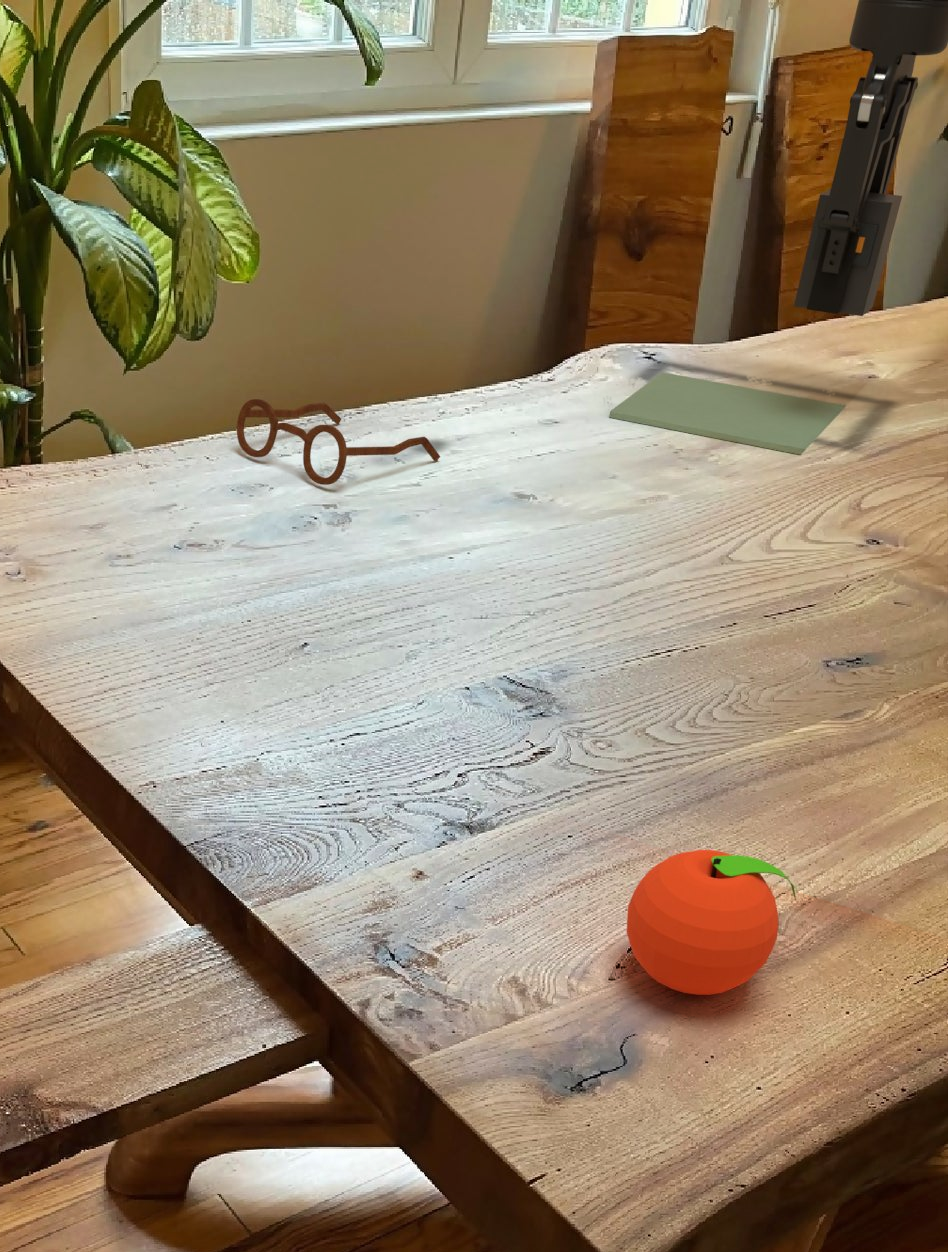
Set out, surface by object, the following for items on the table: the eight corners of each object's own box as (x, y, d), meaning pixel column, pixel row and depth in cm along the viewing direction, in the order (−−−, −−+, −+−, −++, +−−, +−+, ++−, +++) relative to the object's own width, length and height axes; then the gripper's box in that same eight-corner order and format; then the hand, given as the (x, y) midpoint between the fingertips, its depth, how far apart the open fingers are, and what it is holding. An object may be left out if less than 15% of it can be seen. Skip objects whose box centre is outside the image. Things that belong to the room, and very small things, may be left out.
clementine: (742, 929, 75) (777, 812, 71) (804, 1016, 70) (846, 895, 66) (593, 942, 74) (619, 823, 70) (645, 1031, 69) (676, 908, 65)
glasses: (232, 453, 130) (234, 395, 127) (338, 423, 137) (341, 367, 134) (336, 496, 122) (340, 435, 119) (442, 461, 129) (449, 403, 126)
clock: (872, 307, 132) (902, 195, 126) (861, 317, 129) (891, 203, 123) (805, 298, 134) (831, 187, 129) (792, 307, 131) (818, 195, 126)
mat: (883, 418, 141) (885, 412, 140) (844, 463, 131) (846, 456, 130) (660, 378, 150) (662, 372, 149) (608, 417, 140) (609, 411, 139)
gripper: (886, -18, 124) (813, 278, 139) (835, -3, 113) (760, 319, 127) (980, -12, 121) (895, 290, 136) (937, 5, 110) (849, 333, 124)
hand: (830, 303), depth 131 cm, fingers closed on clock, 4 cm apart
